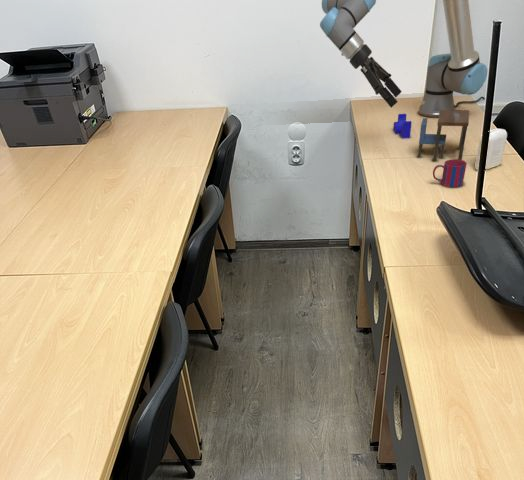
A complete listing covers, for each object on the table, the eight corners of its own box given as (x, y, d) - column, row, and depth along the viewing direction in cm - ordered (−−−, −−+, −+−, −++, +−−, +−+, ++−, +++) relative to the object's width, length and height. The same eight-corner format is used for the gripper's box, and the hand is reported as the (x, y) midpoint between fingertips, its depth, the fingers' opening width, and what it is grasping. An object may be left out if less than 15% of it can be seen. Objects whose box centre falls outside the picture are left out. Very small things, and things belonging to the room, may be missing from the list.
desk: (432, 161, 187) (437, 122, 178) (434, 147, 198) (440, 109, 189) (461, 162, 184) (468, 122, 176) (462, 148, 195) (469, 110, 187)
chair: (417, 157, 191) (421, 124, 184) (419, 150, 197) (422, 118, 189) (442, 158, 188) (448, 125, 181) (443, 151, 194) (448, 118, 187)
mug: (464, 187, 167) (468, 166, 163) (432, 187, 169) (435, 166, 164) (461, 179, 172) (464, 158, 168) (429, 180, 174) (432, 159, 170)
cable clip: (393, 129, 218) (394, 114, 214) (404, 128, 218) (405, 113, 214) (398, 138, 209) (399, 122, 205) (409, 137, 208) (411, 122, 205)
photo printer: (492, 161, 183) (499, 124, 175) (502, 164, 180) (510, 127, 172) (472, 169, 179) (479, 131, 171) (482, 172, 176) (490, 134, 168)
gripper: (354, 53, 191) (392, 98, 196) (341, 68, 173) (383, 117, 178) (370, 36, 186) (408, 83, 191) (358, 50, 168) (401, 100, 173)
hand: (396, 99), depth 185 cm, fingers open, 13 cm apart
